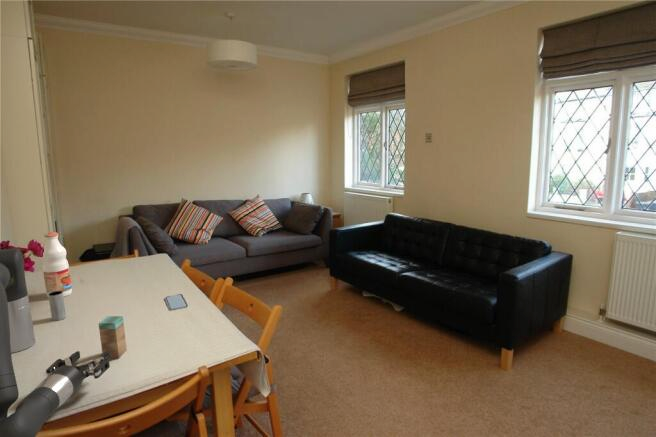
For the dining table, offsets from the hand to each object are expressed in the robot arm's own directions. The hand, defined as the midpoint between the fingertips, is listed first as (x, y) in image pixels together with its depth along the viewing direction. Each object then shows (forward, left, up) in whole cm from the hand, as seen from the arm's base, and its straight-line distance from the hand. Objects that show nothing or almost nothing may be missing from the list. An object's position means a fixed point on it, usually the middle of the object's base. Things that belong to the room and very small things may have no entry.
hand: (93, 353), depth 115 cm
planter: (-35, +38, -7) cm, 52 cm away
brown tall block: (0, +11, -7) cm, 13 cm away
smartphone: (+5, +52, -7) cm, 53 cm away
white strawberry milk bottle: (-50, +62, -7) cm, 80 cm away
